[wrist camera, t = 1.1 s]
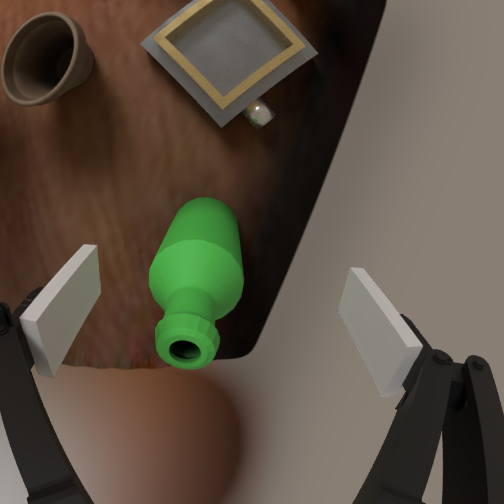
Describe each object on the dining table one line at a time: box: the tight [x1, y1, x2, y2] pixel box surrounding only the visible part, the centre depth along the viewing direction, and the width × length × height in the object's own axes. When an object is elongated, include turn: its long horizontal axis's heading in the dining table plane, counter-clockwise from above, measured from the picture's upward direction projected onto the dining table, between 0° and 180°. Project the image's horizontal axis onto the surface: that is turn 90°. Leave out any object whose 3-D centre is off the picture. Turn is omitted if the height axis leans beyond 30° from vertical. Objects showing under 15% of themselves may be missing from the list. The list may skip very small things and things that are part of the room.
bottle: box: [149, 197, 244, 369], centre depth 32 cm, size 9×9×25 cm
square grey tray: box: [140, 0, 318, 130], centre depth 32 cm, size 18×15×6 cm
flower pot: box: [1, 12, 94, 106], centre depth 28 cm, size 12×11×10 cm
